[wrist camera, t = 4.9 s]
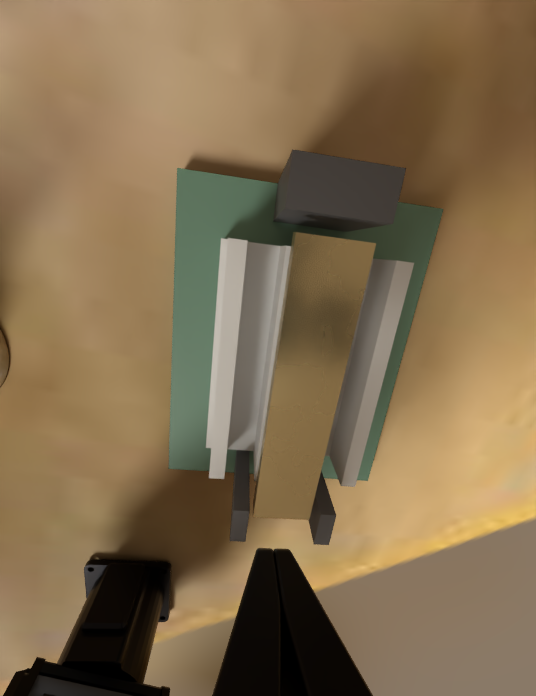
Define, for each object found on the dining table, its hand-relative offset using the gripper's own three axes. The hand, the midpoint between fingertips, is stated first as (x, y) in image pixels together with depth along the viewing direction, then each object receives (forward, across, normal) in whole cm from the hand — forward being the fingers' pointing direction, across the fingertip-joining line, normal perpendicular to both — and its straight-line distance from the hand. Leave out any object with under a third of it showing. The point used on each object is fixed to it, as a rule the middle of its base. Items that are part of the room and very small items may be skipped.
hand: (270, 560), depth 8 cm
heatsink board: (+12, -2, -2) cm, 13 cm away
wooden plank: (+7, -2, -1) cm, 7 cm away
